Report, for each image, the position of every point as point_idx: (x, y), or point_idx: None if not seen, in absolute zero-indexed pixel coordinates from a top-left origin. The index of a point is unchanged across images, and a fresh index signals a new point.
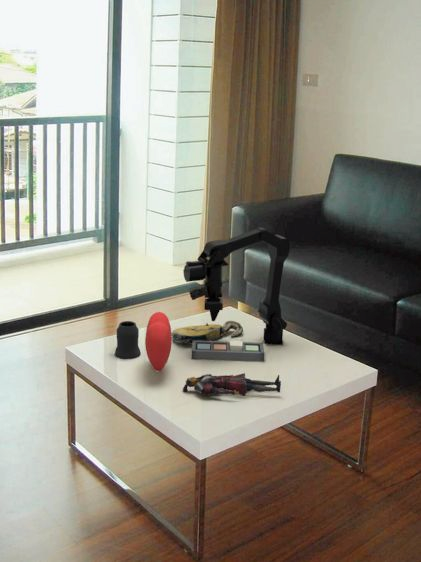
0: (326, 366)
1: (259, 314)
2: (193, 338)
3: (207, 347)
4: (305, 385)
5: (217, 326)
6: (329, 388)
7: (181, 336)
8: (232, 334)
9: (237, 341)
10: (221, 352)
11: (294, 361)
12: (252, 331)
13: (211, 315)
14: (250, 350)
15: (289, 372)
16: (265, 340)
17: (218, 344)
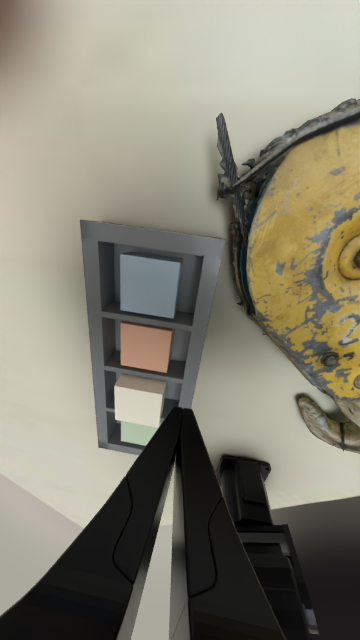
0: (100, 500)
1: (288, 572)
2: (247, 247)
3: (134, 301)
4: (6, 453)
5: (348, 385)
6: (8, 476)
7: (261, 160)
8: (304, 406)
9: (155, 415)
10: (91, 344)
11: (118, 470)
12: (336, 453)
13: (140, 455)
14: (121, 424)
15: (58, 449)
16: (235, 464)
17: (168, 348)
